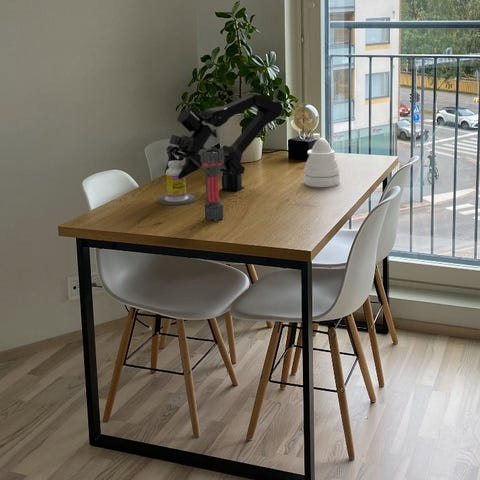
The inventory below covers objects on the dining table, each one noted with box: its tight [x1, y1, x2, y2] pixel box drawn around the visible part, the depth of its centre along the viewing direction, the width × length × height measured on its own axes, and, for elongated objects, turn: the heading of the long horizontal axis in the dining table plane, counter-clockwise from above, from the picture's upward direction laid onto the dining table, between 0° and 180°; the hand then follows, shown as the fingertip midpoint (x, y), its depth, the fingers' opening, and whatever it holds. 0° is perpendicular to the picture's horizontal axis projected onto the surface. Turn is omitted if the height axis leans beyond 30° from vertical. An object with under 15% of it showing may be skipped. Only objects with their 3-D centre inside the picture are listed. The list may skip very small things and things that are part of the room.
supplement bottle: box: [165, 160, 187, 200], centre depth 307 cm, size 7×7×13 cm
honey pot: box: [303, 133, 340, 188], centre depth 324 cm, size 13×13×18 cm
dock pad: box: [157, 193, 196, 207], centre depth 309 cm, size 13×13×1 cm
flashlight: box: [200, 146, 224, 222], centre depth 281 cm, size 8×8×23 cm
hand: (172, 175), depth 305 cm, fingers open, 9 cm apart
